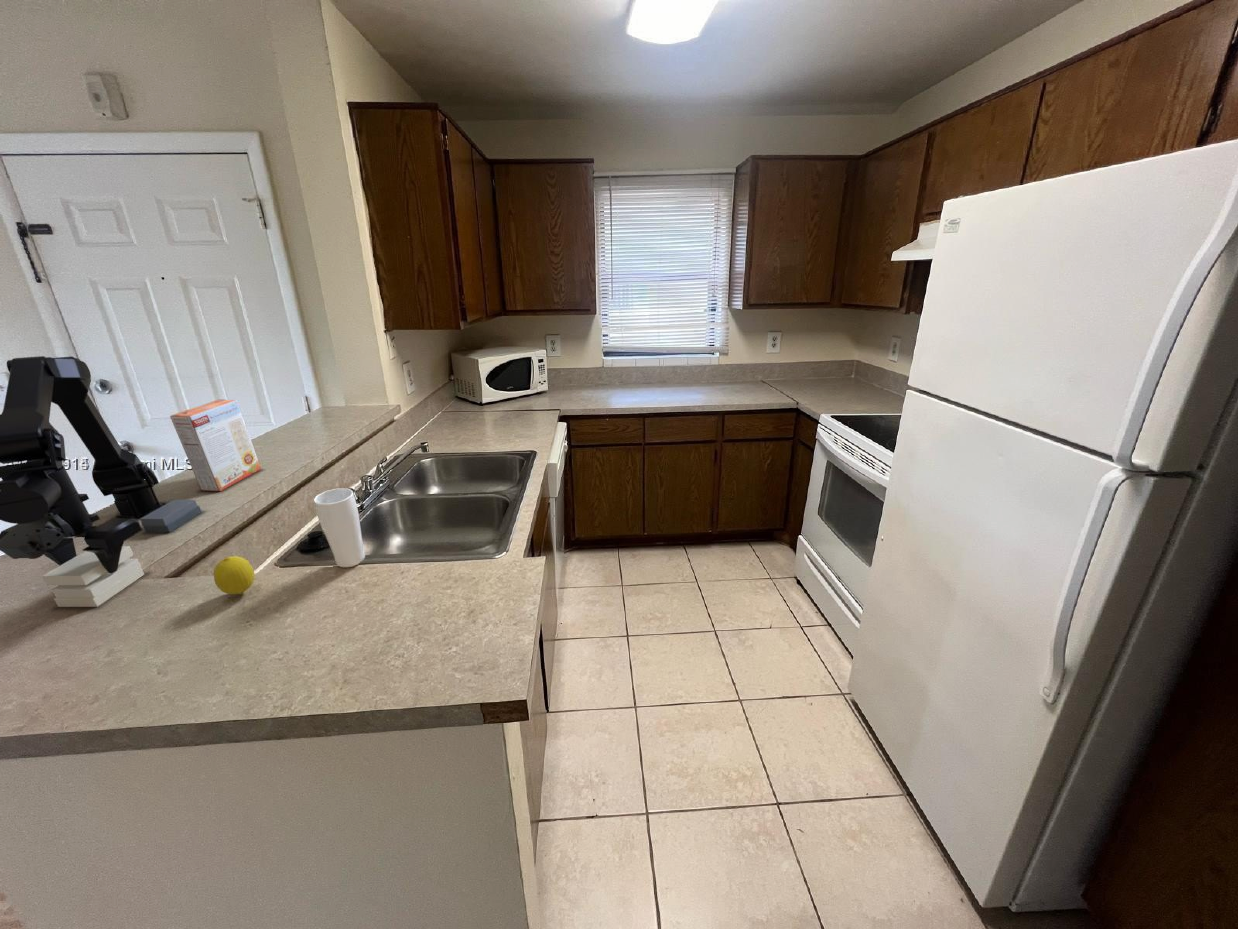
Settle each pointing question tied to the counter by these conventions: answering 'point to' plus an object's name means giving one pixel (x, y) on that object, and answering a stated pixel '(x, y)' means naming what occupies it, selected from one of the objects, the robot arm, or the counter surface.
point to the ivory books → (98, 587)
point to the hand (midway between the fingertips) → (94, 572)
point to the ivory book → (81, 569)
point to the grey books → (170, 516)
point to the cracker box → (216, 444)
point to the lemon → (233, 575)
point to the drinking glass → (341, 525)
